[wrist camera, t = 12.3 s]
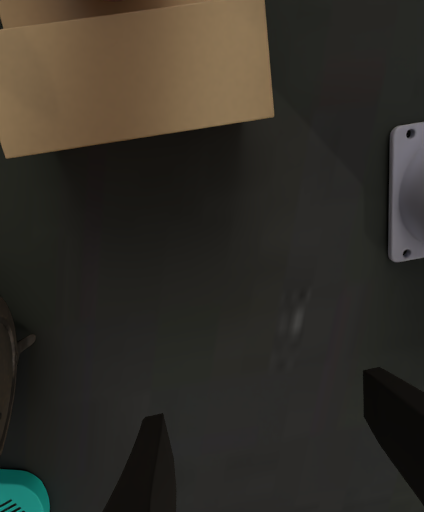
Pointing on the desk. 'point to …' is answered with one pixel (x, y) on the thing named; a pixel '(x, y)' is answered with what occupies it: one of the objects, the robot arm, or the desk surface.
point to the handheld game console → (22, 492)
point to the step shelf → (128, 70)
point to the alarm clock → (8, 366)
